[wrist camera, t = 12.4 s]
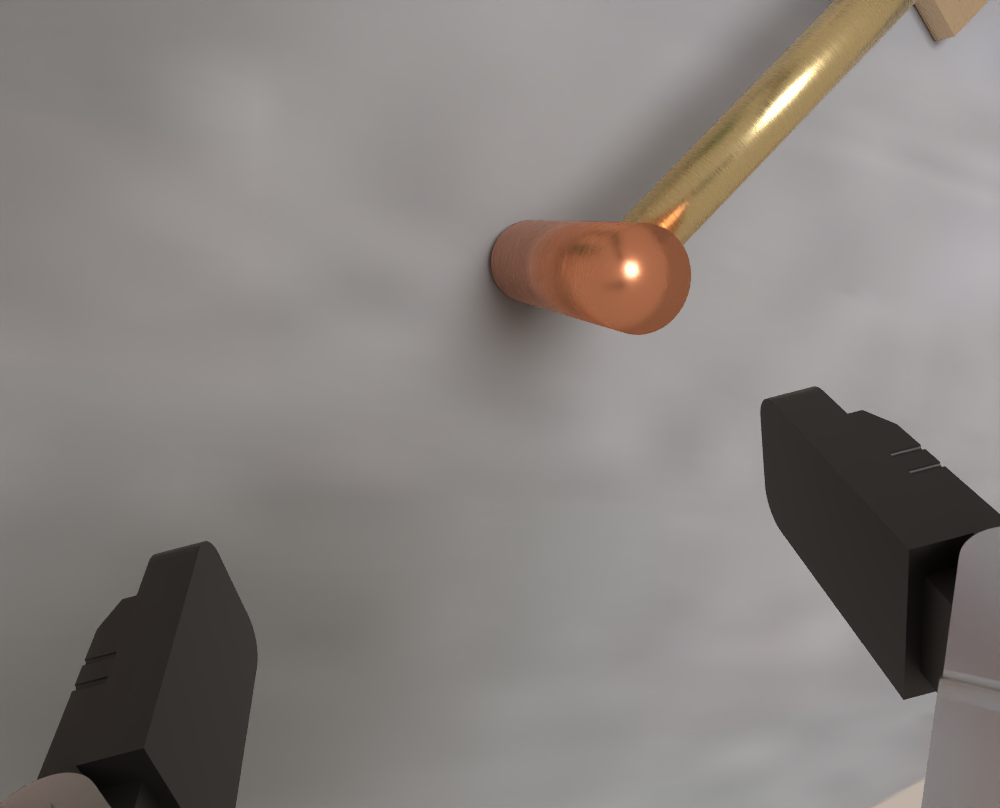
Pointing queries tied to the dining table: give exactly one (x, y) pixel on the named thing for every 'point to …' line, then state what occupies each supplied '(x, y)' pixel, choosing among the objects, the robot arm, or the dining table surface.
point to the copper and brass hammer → (684, 190)
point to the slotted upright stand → (947, 15)
